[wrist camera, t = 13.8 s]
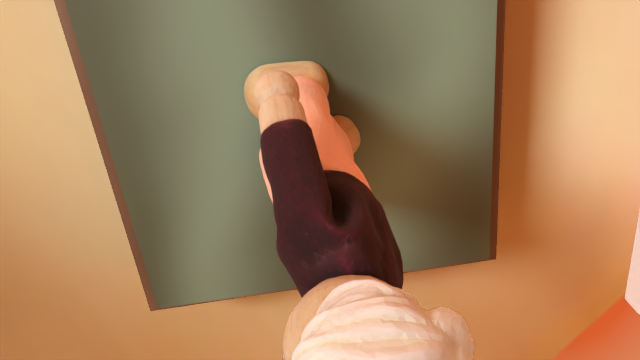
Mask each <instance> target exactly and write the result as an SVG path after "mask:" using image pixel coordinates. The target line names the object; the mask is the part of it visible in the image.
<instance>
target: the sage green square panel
mask: <svg viewBox="0 0 640 360" xmlns="http://www.w3.org/2000/svg"><path fill="white" fill-rule="evenodd" d="M54 2H55V5H56V9H57V12H58V15H59V18H60V22H61V25H62V28H63V31H64V34H65V38H66V41H67V44H68V47H69V50H70V54H71V57H72V60H73V63H74V67H75V70H76V73H77V76H78V79H79V83H80V86H81V89H82V92H83V95H84V99H85V102H86V105H87V108H88V111H89V115H90V118H91V121H92V124H93V128H94V131H95V134H96V137H97V140H98V144H99V147H100V150H101V153H102V156H103V160H104V163H105V166H106V169H107V173H108V176H109V179H110V182H111V185H112V189H113V192H114V195H115V198H116V201H117V205H118V208H119V211H120V214H121V217H122V221H123V224H124V227H125V230H126V234H127V237H128V240H129V243H130V246H131V250H132V253H133V256H134V259H135V262H136V266H137V269H138V272H139V275H140V279H141V282H142V285H143V288H144V291H145V295H146V298H147V301H148V304H149V307H150V311H154V310H161V309H167V308H174V307H181V306H187V305H194V304H201V303H207V302H214V301H221V300H227V299H234V298H240V297H247V296H254V295H260V294H267V293H274V292H280V291H287V290H294V289H297V287H296V285H295V283H294V282H293V280H292V278H291V276H290V275H289V273H288V271H287V269H286V268H285V266H284V265H283V263H282V262H281V260H280V258H279V257H278V253H277V250H276V240H277V226H276V222H275V217H274V210H273V203H272V200H271V198H270V196H269V193H268V189H267V186H266V183H265V180H264V177H263V173H262V169H261V166H260V160H259V152H260V148H261V146H260V139H261V132H260V125H259V119H258V118H256V117H255V116H254V115H253V114H252V113H251V111H250V110H249V108H248V106H247V103H246V100H245V97H244V84H245V81H246V79H247V77H248V75H249V74H250V73H251V72H252V71H253V70H254V69H256V68H257V67H259V66H262V65H266V64H273V63H283V62H295V61H313V62H315V63H317V64H319V65H320V66H321V67H322V68H323V69H324V71H325V72H326V75H327V78H328V83H329V92H328V96H327V99H328V102H329V107H330V115H331V116H336V115H340V116H345V117H347V118H349V119H350V120H351V121H352V122H353V123H354V124H355V126H356V128H357V129H358V131H359V133H360V139H361V141H360V145H359V148H358V149H357V151H356V152H355V153H354V154H353V156H354V162H355V164H356V165H357V166H358V167H359V169H360V170H361V172H362V173H363V175H364V176H365V178H366V180H367V182H368V184H369V186H370V188H371V191H372V193H373V195H374V196H375V198H376V199H377V200H378V201H379V202H380V203H381V205H382V206H383V209H384V211H385V214H386V217H387V220H388V222H389V225H390V227H391V230H392V232H393V235H394V237H395V240H396V243H397V245H398V247H399V249H400V253H401V257H402V262H403V273H407V272H413V271H420V270H427V269H433V268H440V267H446V266H453V265H460V264H466V263H473V262H480V261H486V260H493V259H496V244H497V217H498V189H499V162H500V134H501V107H502V79H503V52H504V24H505V0H54Z"/></svg>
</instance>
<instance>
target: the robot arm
mask: <svg viewBox="0 0 640 360" xmlns="http://www.w3.org/2000/svg"><path fill="white" fill-rule="evenodd" d="M625 299H626V301H627V302H628V303H629V304H630V305H631V306H632V307H633V308H634V309H635V310H636V311H637V313H638V314H639V315H640V211H639V217H638V223H637V229H636V235H635V240H634V246H633V252H632V258H631V264H630V270H629V276H628V281H627V287H626V293H625Z"/></svg>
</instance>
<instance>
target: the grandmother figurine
mask: <svg viewBox="0 0 640 360" xmlns="http://www.w3.org/2000/svg"><path fill="white" fill-rule="evenodd" d="M328 92H329V83H328V78H327V75H326V72H325V71H324V69H323V68H322V67H321V66H320V65H319V64H317V63H315V62H313V61H295V62H283V63H273V64H266V65H262V66H259V67H257V68H256V69H254V70H253V71H252V72H251V73H250V74H249V75H248V77H247V79H246V81H245V84H244V97H245V100H246V103H247V106H248V108H249V110H250V111H251V113H252V114H253V115H254V116H255V117H256V118H258V119H259V125H260V132H261V139H260V146H261V148H260V152H259V160H260V166H261V169H262V173H263V177H264V180H265V183H266V186H267V189H268V193H269V196H270V198H271V200H272V203H273V210H274V217H275V222H276V226H277V240H276V250H277V253H278V257H279V258H280V260H281V262H282V263H283V265H284V266H285V268H286V269H287V271H288V273H289V275H290V276H291V278H292V280H293V282H294V283H295V285H296V287H297V289H298V291H299V293H300V295H301V297H302V298H301V299H300V301H299V302H298V303H297V305H296V306H295V307H294V309H293V310H292V312H291V314H290V316H289V319H288V322H287V325H286V328H285V333H284V338H283V360H472V358H473V354H474V342H473V340H472V338H471V336H470V333H469V329H468V326H467V324H466V322H465V320H464V319H463V317H462V316H461V315H460V314H459V313H458V312H456V311H454V310H452V309H450V308H448V307H437V308H434V309H431V310H424V309H423V308H422V307H421V306H420V305H419V303H418V302H417V301H416V300H415V298H414V297H413V296H412V295H410V294H409V293H408V292H406V291H404V290H402V285H403V262H402V257H401V253H400V249H399V247H398V245H397V243H396V240H395V237H394V235H393V232H392V230H391V227H390V225H389V222H388V220H387V217H386V214H385V211H384V209H383V206H382V205H381V203H380V202H379V201H378V200H377V199H376V198H375V196H374V195H373V193H372V191H371V188H370V186H369V184H368V182H367V180H366V178H365V176H364V175H363V173H362V172H361V170H360V169H359V167H358V166H357V165H356V164H355V162H354V156H353V154H354V153H355V152H356V151H357V149H358V148H359V145H360V141H361V139H360V133H359V131H358V129H357V128H356V126H355V124H354V123H353V122H352V121H351V120H350V119H349V118H347V117H345V116H340V115H336V116H331V115H330V107H329V102H328V99H327V96H328Z"/></svg>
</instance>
